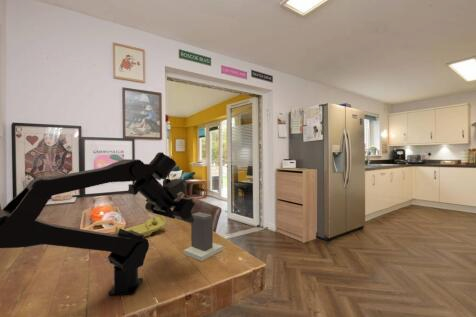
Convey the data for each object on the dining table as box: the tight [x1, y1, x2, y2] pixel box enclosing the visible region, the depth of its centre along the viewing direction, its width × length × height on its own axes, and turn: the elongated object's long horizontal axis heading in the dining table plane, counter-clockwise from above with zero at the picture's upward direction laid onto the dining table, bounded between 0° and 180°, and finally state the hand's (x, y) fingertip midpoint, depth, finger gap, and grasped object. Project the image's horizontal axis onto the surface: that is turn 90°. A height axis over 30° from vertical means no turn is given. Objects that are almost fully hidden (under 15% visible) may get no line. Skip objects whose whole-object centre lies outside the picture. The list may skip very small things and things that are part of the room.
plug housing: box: [190, 211, 214, 251], centre depth 80 cm, size 4×7×12 cm, turn 53°
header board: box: [183, 242, 224, 262], centre depth 79 cm, size 11×9×4 cm
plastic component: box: [114, 214, 166, 238], centre depth 97 cm, size 20×7×10 cm
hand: (183, 219), depth 73 cm, fingers open, 9 cm apart
